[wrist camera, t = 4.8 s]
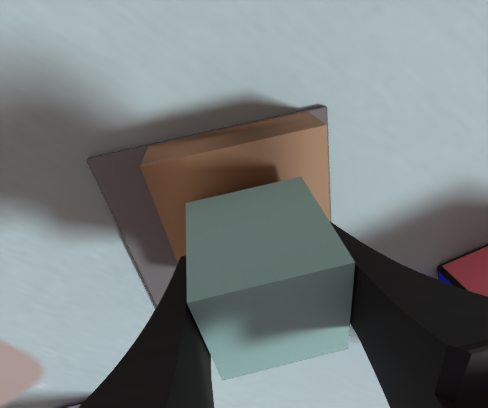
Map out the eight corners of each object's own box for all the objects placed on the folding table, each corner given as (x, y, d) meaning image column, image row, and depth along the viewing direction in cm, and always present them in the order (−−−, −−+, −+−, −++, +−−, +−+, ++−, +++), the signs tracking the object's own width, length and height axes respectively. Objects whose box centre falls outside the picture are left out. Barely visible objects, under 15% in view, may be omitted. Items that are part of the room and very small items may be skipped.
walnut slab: (191, 267, 19) (191, 298, 17) (148, 146, 15) (140, 166, 13) (316, 238, 19) (332, 264, 17) (307, 111, 15) (326, 124, 13)
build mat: (164, 317, 21) (164, 321, 21) (88, 158, 15) (86, 160, 15) (331, 276, 21) (333, 280, 21) (324, 105, 15) (327, 106, 15)
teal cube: (212, 279, 16) (222, 380, 12) (185, 203, 13) (186, 302, 9) (305, 257, 16) (347, 348, 12) (301, 176, 13) (355, 262, 9)
